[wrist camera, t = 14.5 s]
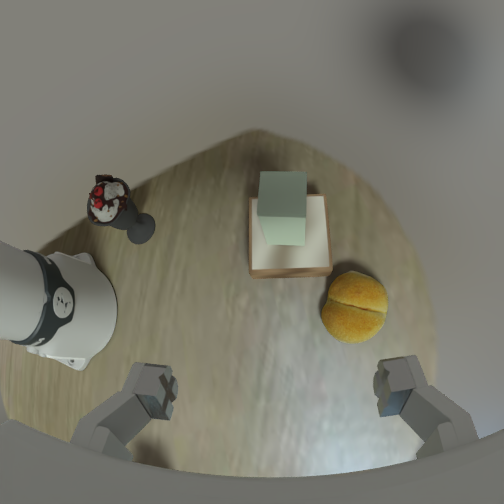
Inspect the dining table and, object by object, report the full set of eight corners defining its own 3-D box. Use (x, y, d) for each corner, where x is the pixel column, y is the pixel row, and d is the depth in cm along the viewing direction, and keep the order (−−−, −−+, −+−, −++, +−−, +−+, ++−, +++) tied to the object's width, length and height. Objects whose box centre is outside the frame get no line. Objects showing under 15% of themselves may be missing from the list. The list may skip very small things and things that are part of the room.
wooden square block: (253, 279, 40) (248, 272, 36) (252, 209, 43) (248, 196, 39) (328, 276, 39) (332, 269, 35) (323, 206, 42) (326, 193, 38)
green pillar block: (266, 244, 37) (256, 212, 28) (269, 210, 38) (260, 171, 30) (305, 246, 36) (306, 214, 27) (306, 211, 37) (306, 172, 29)
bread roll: (313, 333, 37) (316, 333, 33) (335, 268, 39) (339, 260, 35) (372, 351, 35) (381, 352, 31) (391, 286, 37) (401, 280, 33)
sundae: (148, 256, 43) (89, 218, 28) (116, 240, 44) (56, 201, 30) (168, 217, 44) (119, 165, 30) (135, 203, 46) (84, 154, 31)
